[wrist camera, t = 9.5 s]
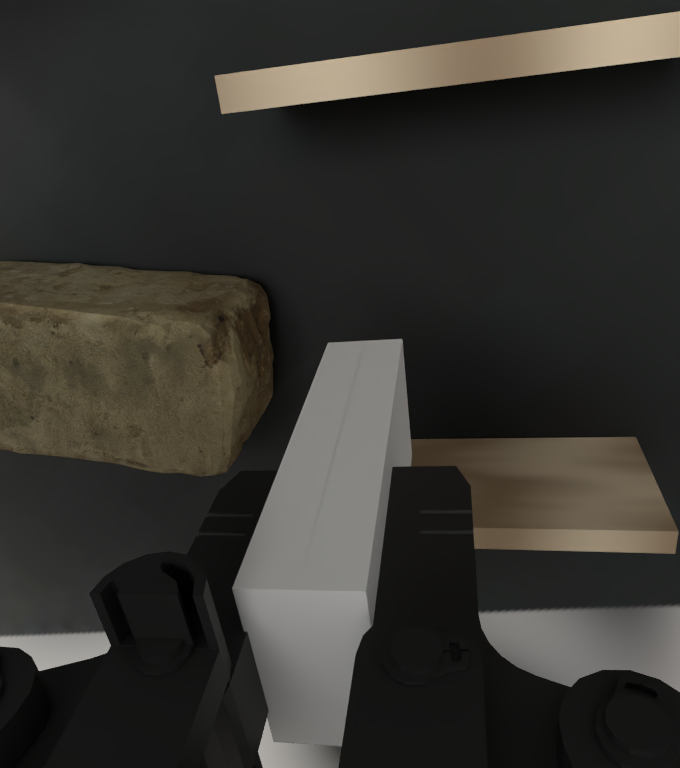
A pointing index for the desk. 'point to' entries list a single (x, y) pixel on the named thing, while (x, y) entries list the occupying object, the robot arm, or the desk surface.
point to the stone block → (132, 365)
